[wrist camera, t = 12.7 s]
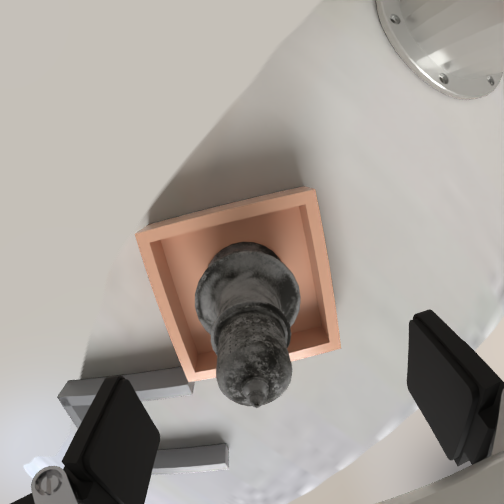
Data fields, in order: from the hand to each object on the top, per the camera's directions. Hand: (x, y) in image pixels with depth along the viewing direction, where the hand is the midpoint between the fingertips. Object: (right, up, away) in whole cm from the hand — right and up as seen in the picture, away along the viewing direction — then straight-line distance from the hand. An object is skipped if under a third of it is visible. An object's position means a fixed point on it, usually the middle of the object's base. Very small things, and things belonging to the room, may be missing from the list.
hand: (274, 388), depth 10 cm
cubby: (-9, -10, +15) cm, 20 cm away
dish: (-1, +2, +12) cm, 13 cm away
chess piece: (-1, +2, +12) cm, 12 cm away
